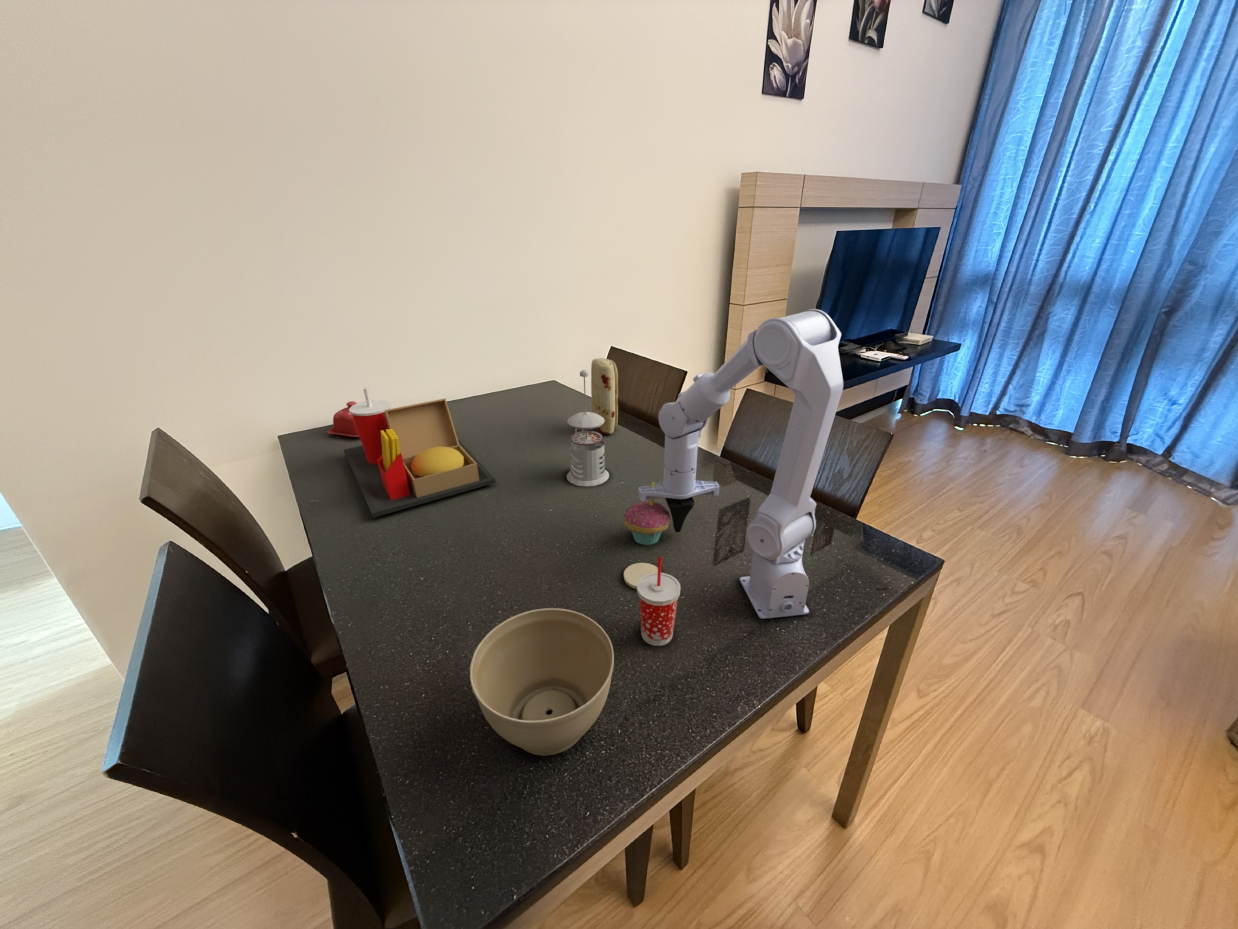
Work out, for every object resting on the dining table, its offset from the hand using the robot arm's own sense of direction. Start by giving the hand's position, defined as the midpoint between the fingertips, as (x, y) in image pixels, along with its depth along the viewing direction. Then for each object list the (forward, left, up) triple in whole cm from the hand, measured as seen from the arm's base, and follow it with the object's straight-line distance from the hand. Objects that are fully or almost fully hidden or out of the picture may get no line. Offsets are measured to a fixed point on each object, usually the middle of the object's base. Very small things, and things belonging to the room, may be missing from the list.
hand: (676, 529), depth 99 cm
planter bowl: (-36, +25, -2) cm, 44 cm away
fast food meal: (+34, +54, -2) cm, 64 cm away
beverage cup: (-24, +9, -2) cm, 26 cm away
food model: (+51, +8, -2) cm, 52 cm away
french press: (+27, +15, -2) cm, 31 cm away
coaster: (-11, +8, -1) cm, 14 cm away
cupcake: (0, +6, -2) cm, 6 cm away
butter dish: (+61, +75, -2) cm, 96 cm away
